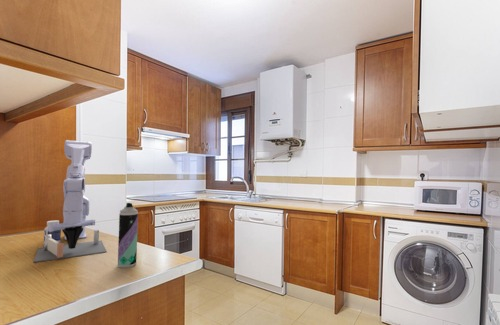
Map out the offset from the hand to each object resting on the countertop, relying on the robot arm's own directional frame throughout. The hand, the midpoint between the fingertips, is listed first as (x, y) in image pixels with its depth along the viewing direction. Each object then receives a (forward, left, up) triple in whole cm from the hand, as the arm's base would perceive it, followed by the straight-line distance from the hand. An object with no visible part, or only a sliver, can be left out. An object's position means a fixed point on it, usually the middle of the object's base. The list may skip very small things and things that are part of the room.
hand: (71, 248), depth 95 cm
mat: (-4, 0, -2) cm, 4 cm away
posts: (-8, 0, -2) cm, 8 cm away
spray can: (+23, +15, -2) cm, 27 cm away
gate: (0, -5, -1) cm, 5 cm away
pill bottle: (-16, -6, -2) cm, 17 cm away
